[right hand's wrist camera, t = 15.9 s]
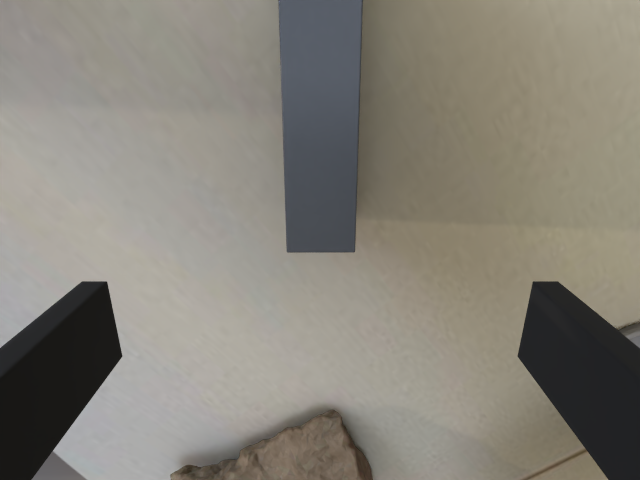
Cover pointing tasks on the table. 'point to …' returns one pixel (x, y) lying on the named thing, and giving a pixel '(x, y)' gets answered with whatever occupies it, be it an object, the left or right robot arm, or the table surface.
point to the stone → (293, 456)
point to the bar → (320, 121)
